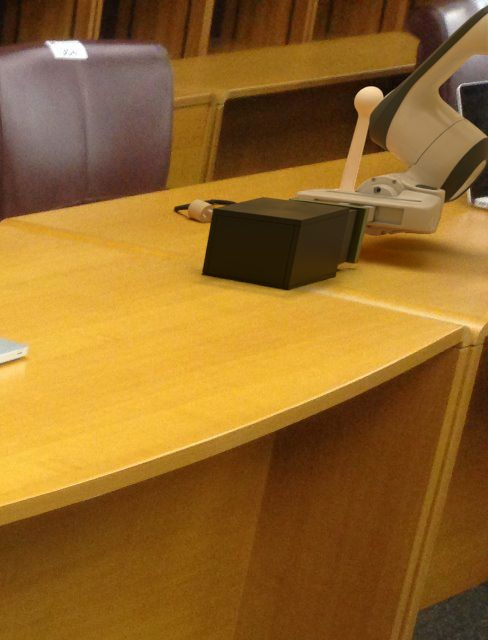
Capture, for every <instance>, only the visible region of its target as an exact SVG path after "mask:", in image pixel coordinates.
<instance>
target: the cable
mask: <svg viewBox="0 0 488 640" xmlns="http://www.w3.org/2000/svg"><path fill="white" fill-rule="evenodd" d="M235 203H237V202H236V201H233V200H228V199H227V200H226V199H213V198H212V199H207V200H202V199H199V198H197V199H195V200H193V201H191V202H190V203H186V204H180V205H175V206H174V208H173V210H174V211H176V212H177V211H187V216H188V217H189V218H191V219H193V220H195V221H197V222H200V223H211V219H212V212H213V208H216V207H215V206H214V205H224V206H226V205H231V204H235Z"/></svg>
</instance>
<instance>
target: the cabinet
mask: <svg viewBox="0 0 488 640" xmlns="http://www.w3.org/2000/svg"><path fill="white" fill-rule="evenodd" d="M349 211H350V208H347V207H339V206H331V205H323V204H315V203H307V202H299V201H291V200H289V199H284V198H283V199H282V198H274V197H266V196H262V197H258V198H253V199H249V200H245V201H239V202H236V203H235V204H231V205H222V206H218V207H215V208H213V212H212V219H211V221H210V225H209V230H208V235H207V242H206V247H205V253H204V260H203V265H202V271H201V276H204V277H205V276H206V277H210V278H211V277H212V278H217V279H222V280H227V281H233V282H237V283H238V282H240V283H244V284H248V285H249V284H251V285H255V286H259V287H265V288H272V289H276V290H281V291H291V290H295V289H298V288H302V287H305V286H308V285H309V286H310V285H312V284H316V283H319V282H322V281H326V280H330V279H333V278H336V276H337V271H338V267H339V264H338V262H339V258H340V253H341V248H342V244H343V239H344V234H345V230H346V225H347V220H348V216H349Z"/></svg>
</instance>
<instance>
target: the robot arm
mask: <svg viewBox="0 0 488 640" xmlns="http://www.w3.org/2000/svg"><path fill="white" fill-rule="evenodd" d="M476 55H482V56H488V4H487V5H485V6H484V7H482V8H481V9H479V10H478V11H476V12H475V13H474V14H472V15H471V16H470V17H469V18H468V19H467V20H465V22H464V23H462V24H461V25H460V26H459V27H458V28H457V29H456V30H454V32H452V34H450V36H448V37H447V39H445V40H444V41H443V42H442V43H441V44H440V45H439V46H438V47H437V48H436V49H435V50H434V51H433V52H432V53H431V54H430V55H429V56H428V57H427V58H426V59H425V60H424V61H423V62H422V63H421V64H420V65H419V66H418V67H417V68H416V69H415V70H413V72H412V73H411V74H410V75H408V77H406V79H404V80H403V81H402V82H401V83H400V84H399V85H398V86H396V87H395V88H394V89H393V90H391V91H390V92H389V93H387V94H386V95H385V96H383V99H382V100H381V101H380V102H379V103H378V104H377V106H376V107H375V109H374V110H373V111H372V113H371V114H370V119H369V126H368V130H369V138H370V140H371V141H372V142H373V143H375V144H376V145H378V146H379V147H380V148H382V149H384V150H385V151H387V153H391V154H392V155H393V156H394V157H395V158H396V159H398V160H399V161H400V162H401V163H403V164H404V165H405V166H406V167H407V168H409V169H404V170H400V171H399V170H398V171H397V172H391V173H386V174H382V175H377V176H373V177H370V178H368V179H366V180H364V181H363V182H362V183H361V184H359V185H358V186H357V188H356V189H354V190H355V192H351V191H343V190H334V189H335V188H334V189H333V188H313V189H312V188H311V189H305V190H300V191H298V192H296V194H295V196H294V198H298V199H306V200H314V201H322V202H331V203H339V204H347V205H355V206H363V207H370V210H369V214H368V219H367V223H366V228H365V233H364V235H368V236H372V237H373V236H374V237H380V236H385V235H390V236H391V235H397V234H416V235H417V234H418V235H432V234H436V232H437V230H438V227H439V224H440V221H441V218H442V214H443V210H444V208H445V206H447V204H449V203H451V202H454V201H456V200H458V199H459V198H460V197H462V196H463V195H464V194H465V193H466V192H468V191H469V190H470V188H472V187H473V185H475V183H476V182H477V181H478V180H479V179H480V178H481V176H482V175H483V174H484V173H485V171H486V169H487V168H488V136H487V134H486V133H484V131H482V130H481V129H479V128H478V127H477V126H476V125H475V124H474V123H473V122H471V121H470V120H468V119H467V118H465V117H464V116H463V115H461V114H460V113H459V112H458V111H457V110H455V109H454V108H453V107H452V106H450V104H449V103H447V102H445V100H443V98H442V97H441V96H440V92H439V89H440V87H441V86H442V85H443V84H444V83H445V82H446V81H447V80H449V78H451V76H453V74H455V72H457V71H458V70H459V69H460V68H461V67H463V65H464V64H465V63H466V62H467V61H468V60H469V59H471V58H472V57H473V56H476Z"/></svg>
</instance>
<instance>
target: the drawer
mask: <svg viewBox="0 0 488 640" xmlns="http://www.w3.org/2000/svg"><path fill="white" fill-rule="evenodd" d="M288 200H291V201H299V202H307V203H315V204H323V205H331V206H339V207H347V208H350V211H349V216H348V220H347V225H346V230H345V234H344V239H343V244H342V248H341V253H340V258H339V262H338V265H341V264H345V263H347V264H352V265H353V264H357V263H359V259H360V255H361V250H362V246H363V241H364V237H365V228H366V223H367V219H368V214H369V210H370V207H363V206H355V205H347V204H339V203H331V202H322V201H314V200H306V199H298V198H295V197H290V198H288Z"/></svg>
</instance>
